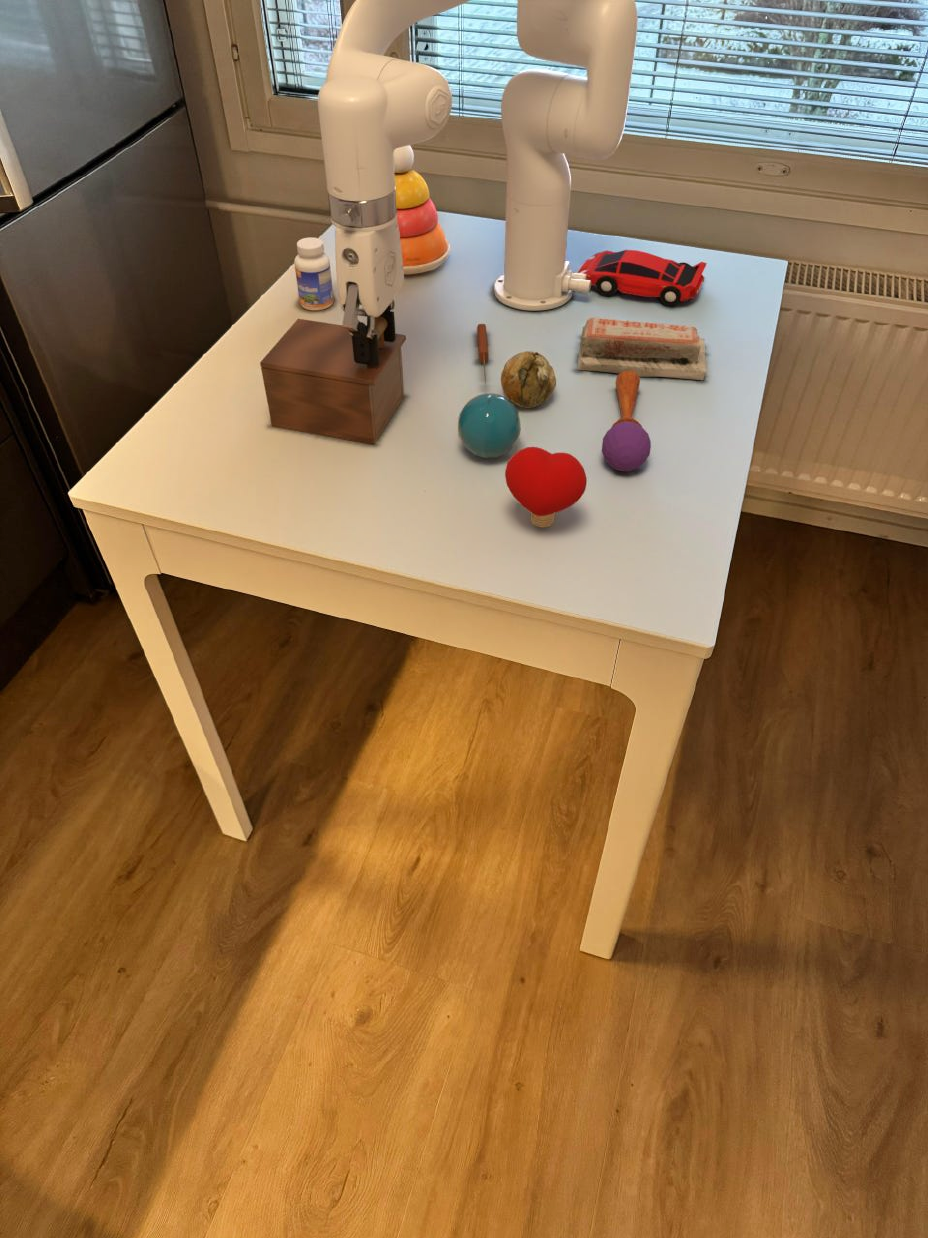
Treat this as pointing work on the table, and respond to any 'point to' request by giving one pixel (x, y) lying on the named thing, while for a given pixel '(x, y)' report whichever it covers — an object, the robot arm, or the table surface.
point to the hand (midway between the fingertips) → (375, 349)
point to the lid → (329, 352)
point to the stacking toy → (417, 218)
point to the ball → (489, 425)
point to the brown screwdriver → (482, 345)
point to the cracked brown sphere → (528, 379)
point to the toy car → (643, 275)
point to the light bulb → (545, 482)
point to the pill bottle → (313, 275)
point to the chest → (334, 403)
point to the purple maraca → (626, 429)
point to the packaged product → (642, 349)
